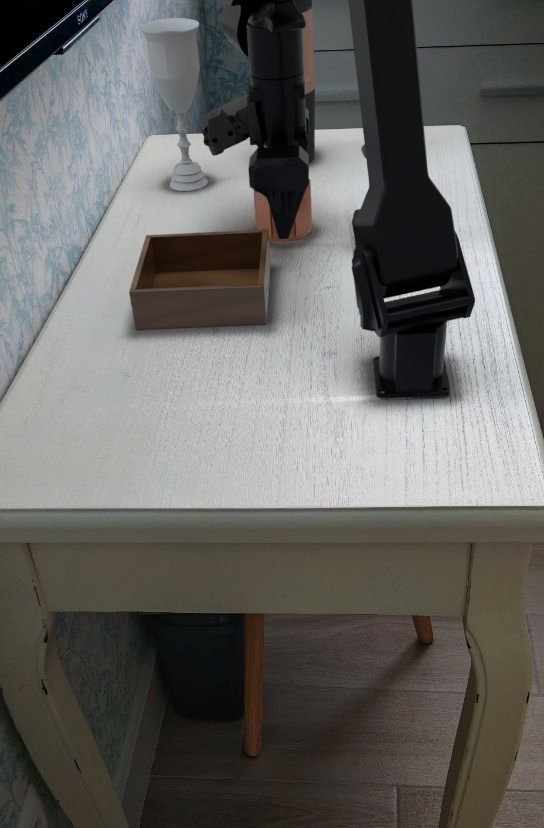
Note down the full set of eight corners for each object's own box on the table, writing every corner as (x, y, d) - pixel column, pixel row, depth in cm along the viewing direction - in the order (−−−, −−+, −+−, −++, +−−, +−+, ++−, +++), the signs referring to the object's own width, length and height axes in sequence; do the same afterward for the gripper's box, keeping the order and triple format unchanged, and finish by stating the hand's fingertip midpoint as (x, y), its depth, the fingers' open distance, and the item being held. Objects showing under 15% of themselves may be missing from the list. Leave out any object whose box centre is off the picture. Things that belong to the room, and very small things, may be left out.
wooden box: (267, 329, 91) (264, 286, 88) (136, 334, 92) (128, 292, 89) (271, 269, 101) (268, 229, 97) (152, 275, 101) (145, 234, 98)
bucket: (312, 244, 105) (310, 194, 101) (256, 246, 105) (252, 197, 101) (312, 221, 109) (310, 172, 105) (258, 223, 110) (255, 175, 106)
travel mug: (285, 173, 120) (276, -5, 106) (249, 159, 125) (236, -13, 111) (328, 157, 124) (325, -18, 109) (291, 144, 128) (284, -26, 114)
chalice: (151, 184, 121) (128, 27, 108) (191, 169, 124) (173, 15, 111) (185, 198, 116) (165, 37, 104) (226, 182, 119) (211, 23, 107)
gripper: (207, 51, 102) (221, 193, 113) (192, 105, 89) (209, 260, 100) (306, 45, 102) (310, 189, 113) (306, 98, 88) (311, 255, 99)
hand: (284, 221), depth 106 cm, fingers open, 9 cm apart
